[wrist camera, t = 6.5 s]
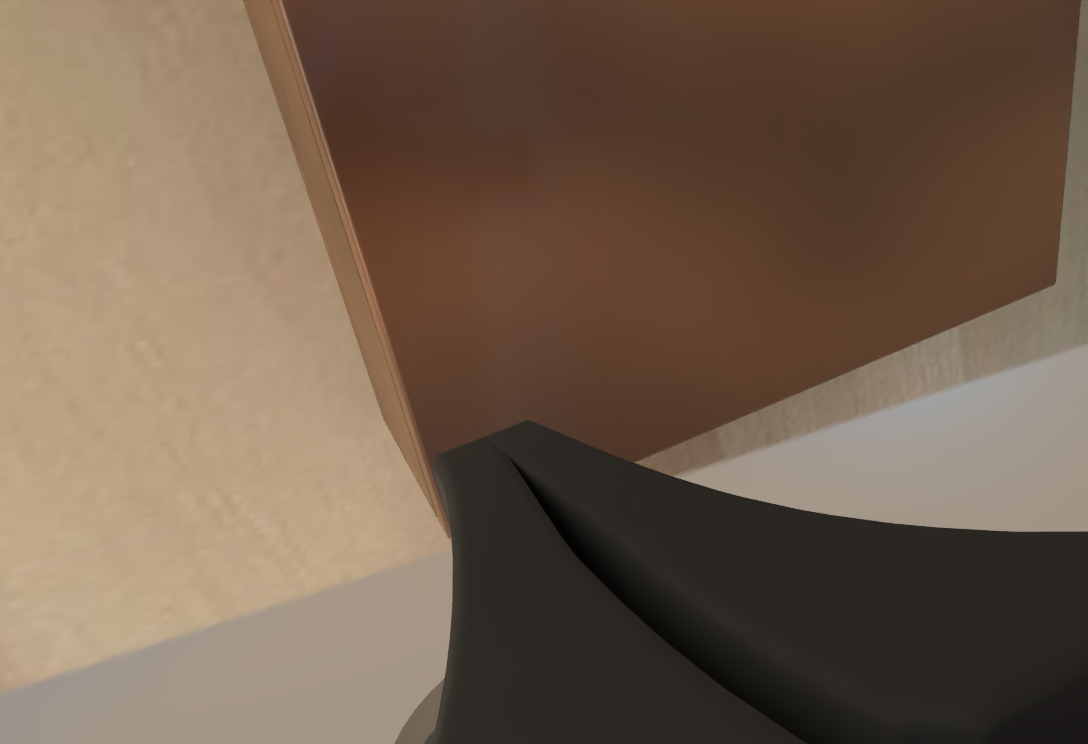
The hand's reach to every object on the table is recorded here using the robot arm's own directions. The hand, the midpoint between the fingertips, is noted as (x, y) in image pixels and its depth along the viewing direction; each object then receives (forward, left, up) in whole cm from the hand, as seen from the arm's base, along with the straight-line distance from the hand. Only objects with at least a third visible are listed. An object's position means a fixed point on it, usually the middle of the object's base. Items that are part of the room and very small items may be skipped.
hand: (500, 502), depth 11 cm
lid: (+3, -8, -5) cm, 10 cm away
